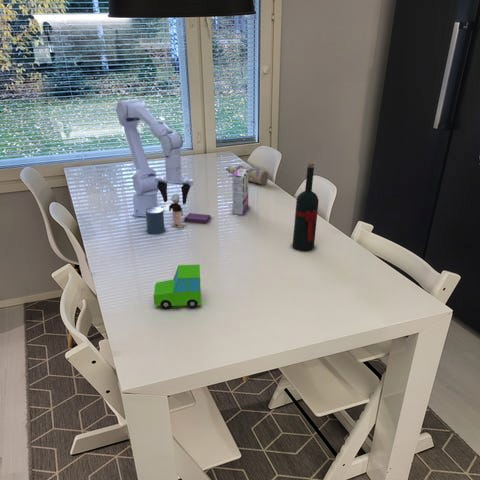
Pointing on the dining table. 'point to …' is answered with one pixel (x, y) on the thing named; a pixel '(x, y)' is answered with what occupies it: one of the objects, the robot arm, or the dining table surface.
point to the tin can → (155, 220)
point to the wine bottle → (306, 215)
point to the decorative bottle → (252, 174)
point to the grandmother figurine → (176, 211)
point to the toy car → (180, 288)
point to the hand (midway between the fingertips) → (175, 202)
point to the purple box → (197, 218)
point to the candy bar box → (240, 191)
